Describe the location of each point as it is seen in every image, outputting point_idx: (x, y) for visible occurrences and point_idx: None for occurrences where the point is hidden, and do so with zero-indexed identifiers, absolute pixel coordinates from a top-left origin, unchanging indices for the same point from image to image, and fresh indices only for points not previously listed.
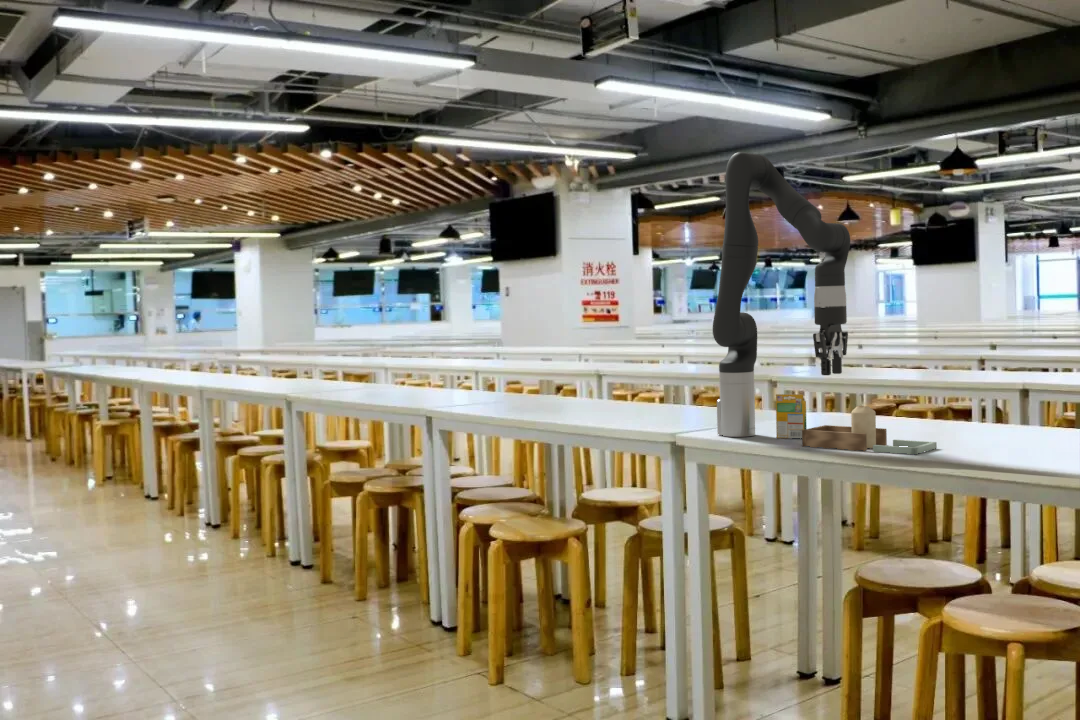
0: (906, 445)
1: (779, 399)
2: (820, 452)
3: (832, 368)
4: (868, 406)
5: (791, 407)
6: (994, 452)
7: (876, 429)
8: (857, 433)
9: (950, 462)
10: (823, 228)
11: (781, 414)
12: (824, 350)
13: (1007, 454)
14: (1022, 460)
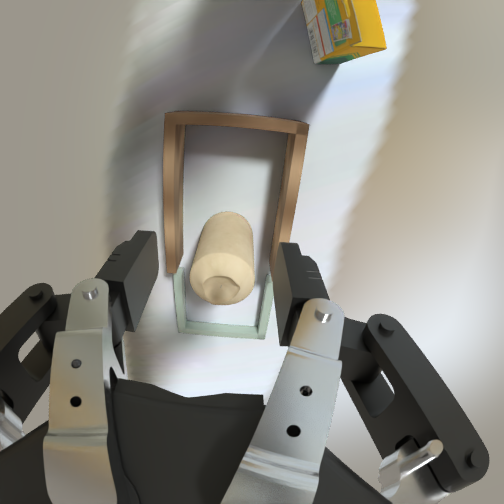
0: (263, 297)
1: None
2: (115, 188)
3: (281, 256)
4: (215, 304)
5: (333, 12)
6: (257, 378)
7: (274, 264)
8: (167, 258)
9: (147, 359)
10: None
11: None
12: (35, 366)
13: (246, 387)
14: None
